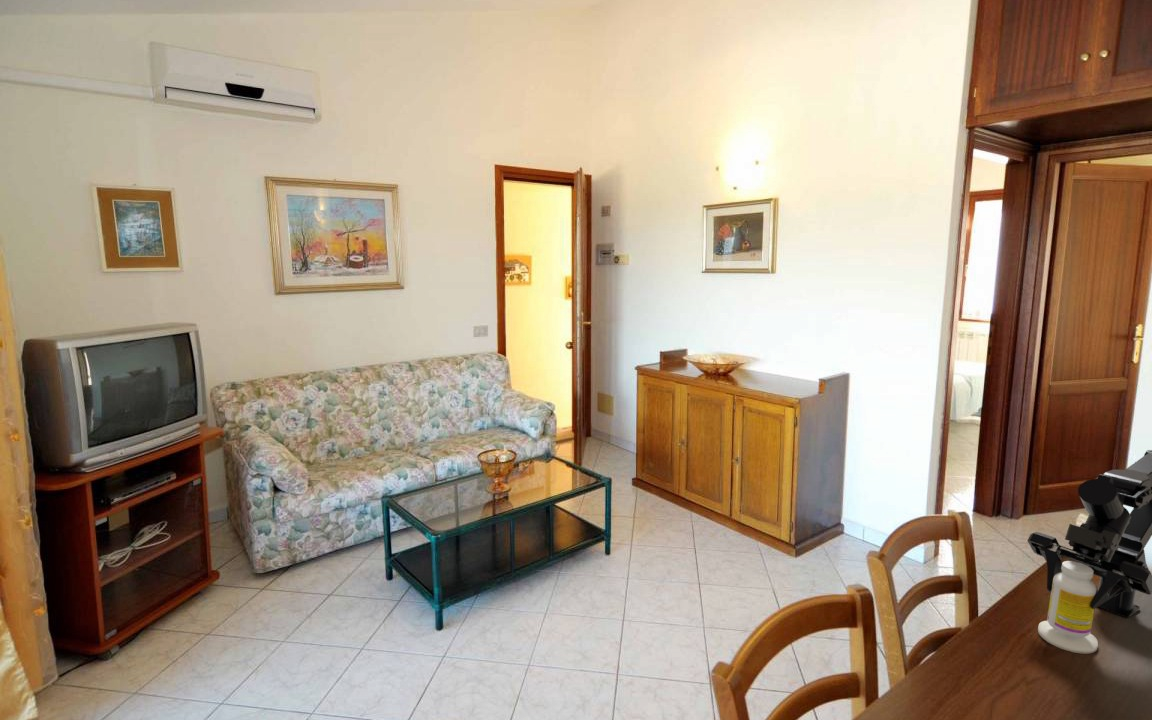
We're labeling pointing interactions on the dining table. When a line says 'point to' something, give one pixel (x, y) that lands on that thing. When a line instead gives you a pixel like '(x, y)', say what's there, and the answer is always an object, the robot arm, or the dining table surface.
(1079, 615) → the supplement bottle
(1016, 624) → the dining table surface
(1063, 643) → the coaster
